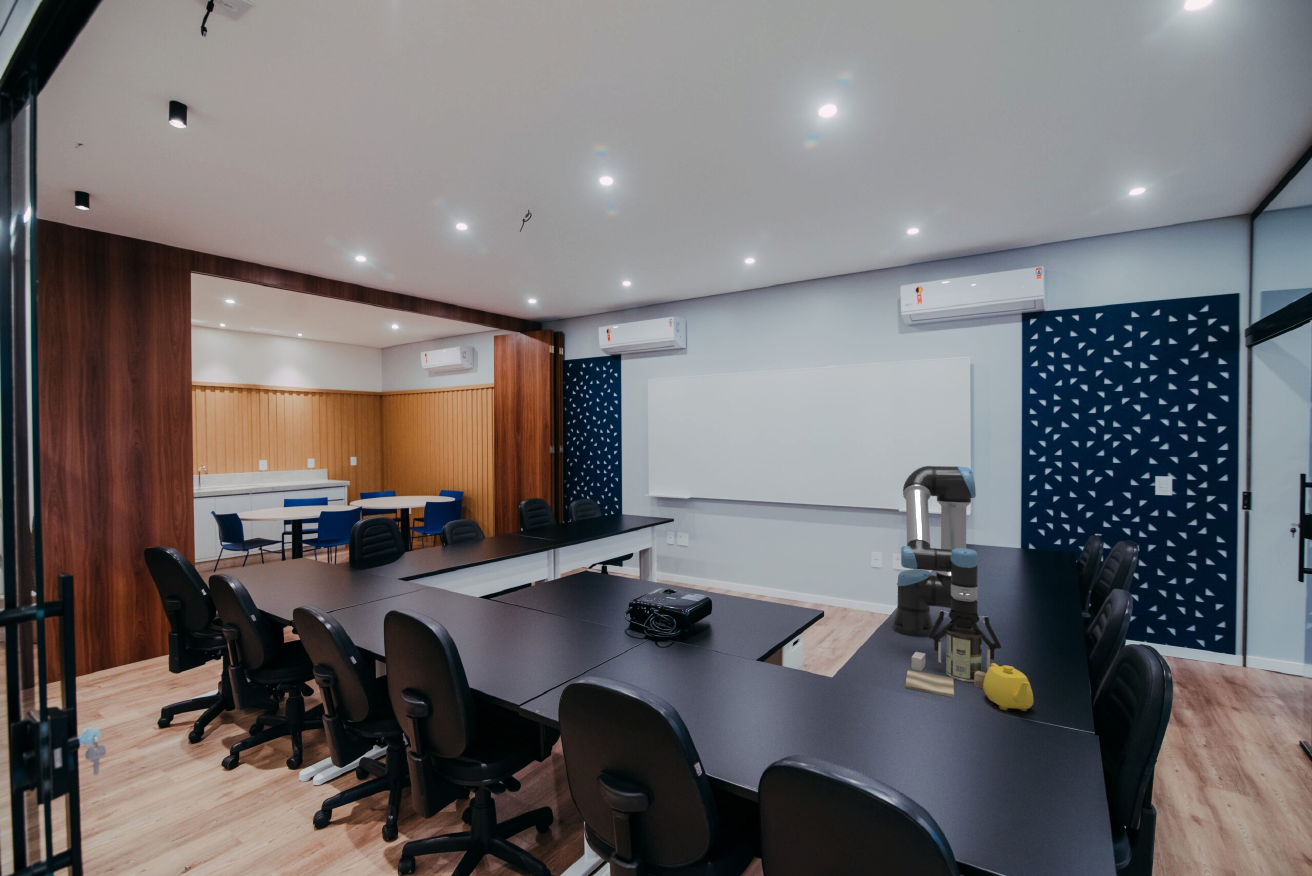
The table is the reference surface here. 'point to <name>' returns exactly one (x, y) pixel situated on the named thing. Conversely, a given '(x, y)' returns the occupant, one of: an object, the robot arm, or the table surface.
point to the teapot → (1008, 688)
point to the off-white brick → (918, 661)
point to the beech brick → (979, 679)
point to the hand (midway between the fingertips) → (963, 665)
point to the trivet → (930, 683)
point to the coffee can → (963, 653)
